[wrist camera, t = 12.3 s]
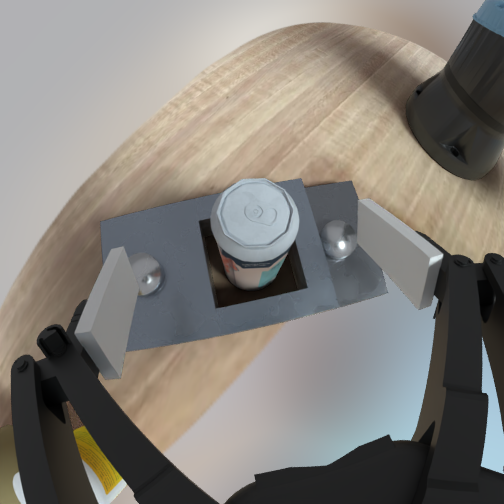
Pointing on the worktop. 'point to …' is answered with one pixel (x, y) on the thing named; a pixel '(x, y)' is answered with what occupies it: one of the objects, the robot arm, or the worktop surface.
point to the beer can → (254, 231)
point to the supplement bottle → (90, 470)
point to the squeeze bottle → (7, 466)
